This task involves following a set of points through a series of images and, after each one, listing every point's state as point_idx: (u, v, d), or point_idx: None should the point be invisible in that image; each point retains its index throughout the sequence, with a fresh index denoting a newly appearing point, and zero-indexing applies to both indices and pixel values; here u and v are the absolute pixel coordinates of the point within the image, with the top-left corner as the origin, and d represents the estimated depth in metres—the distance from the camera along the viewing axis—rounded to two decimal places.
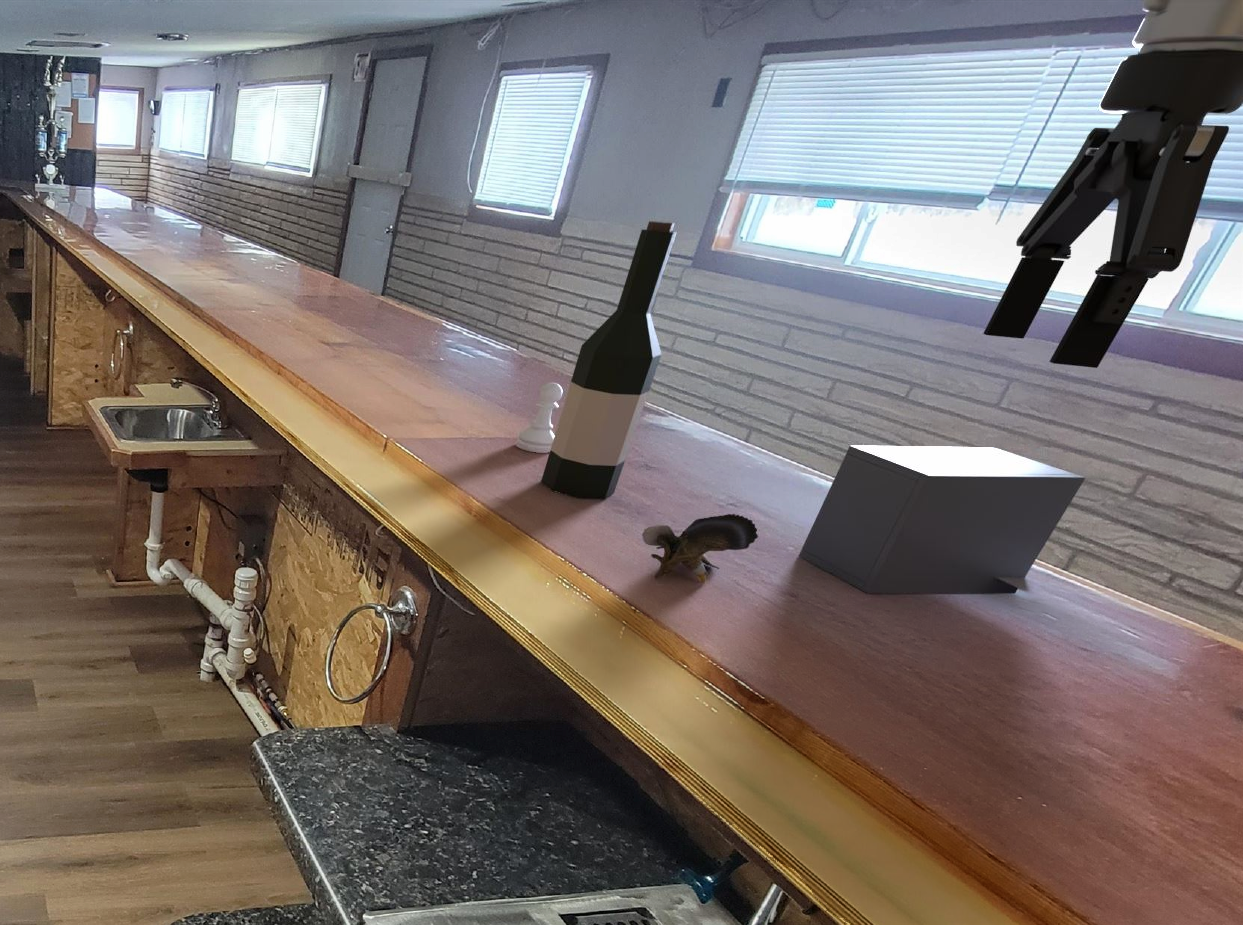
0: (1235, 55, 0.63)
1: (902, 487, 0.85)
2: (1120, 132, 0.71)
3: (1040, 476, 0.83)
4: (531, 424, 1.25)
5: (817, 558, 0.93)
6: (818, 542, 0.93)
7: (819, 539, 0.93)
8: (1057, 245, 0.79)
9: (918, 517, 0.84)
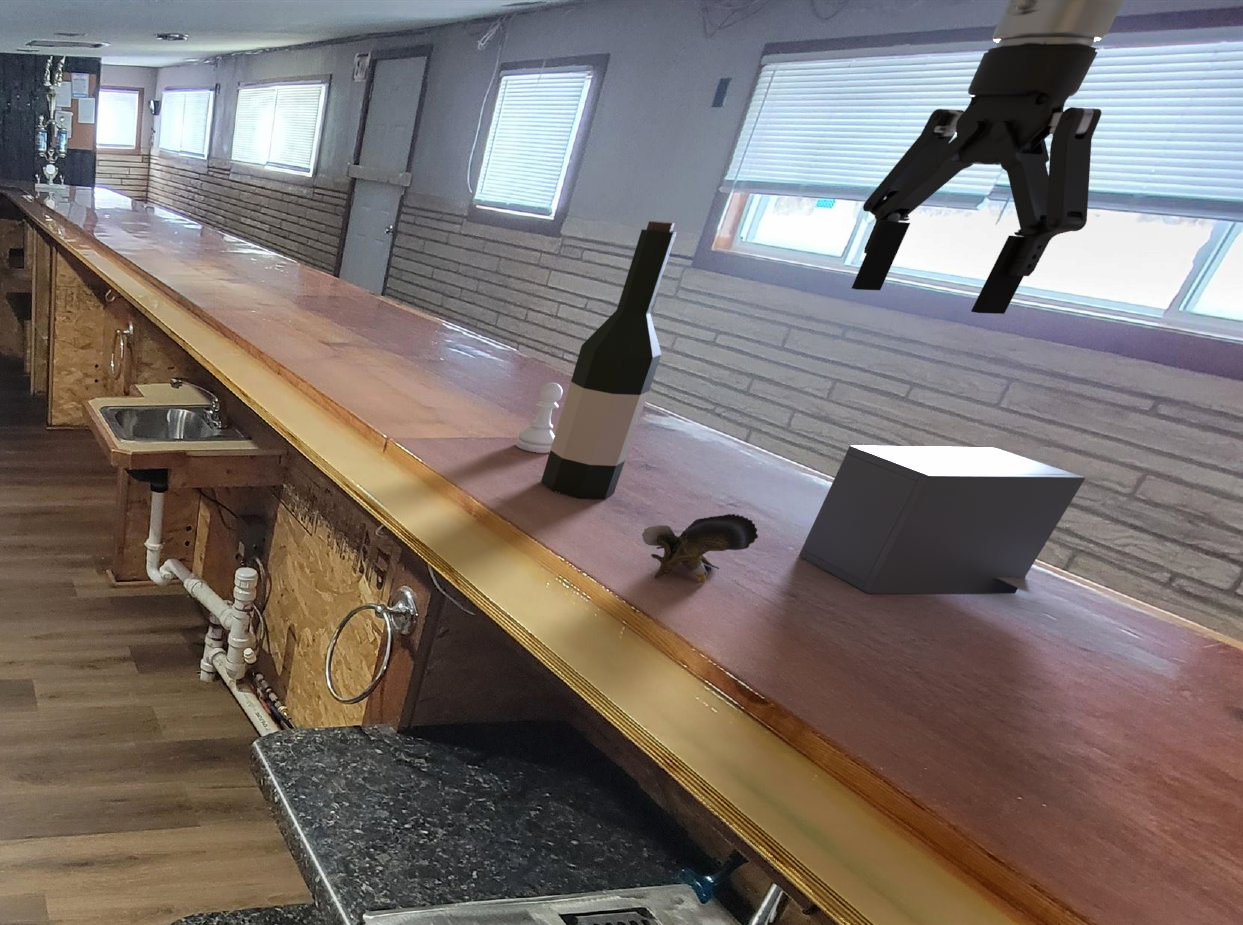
0: (1089, 49, 0.77)
1: (902, 487, 0.85)
2: (978, 113, 0.84)
3: (1040, 476, 0.83)
4: (531, 424, 1.25)
5: (817, 558, 0.93)
6: (818, 542, 0.93)
7: (819, 539, 0.93)
8: (902, 209, 0.93)
9: (918, 517, 0.84)
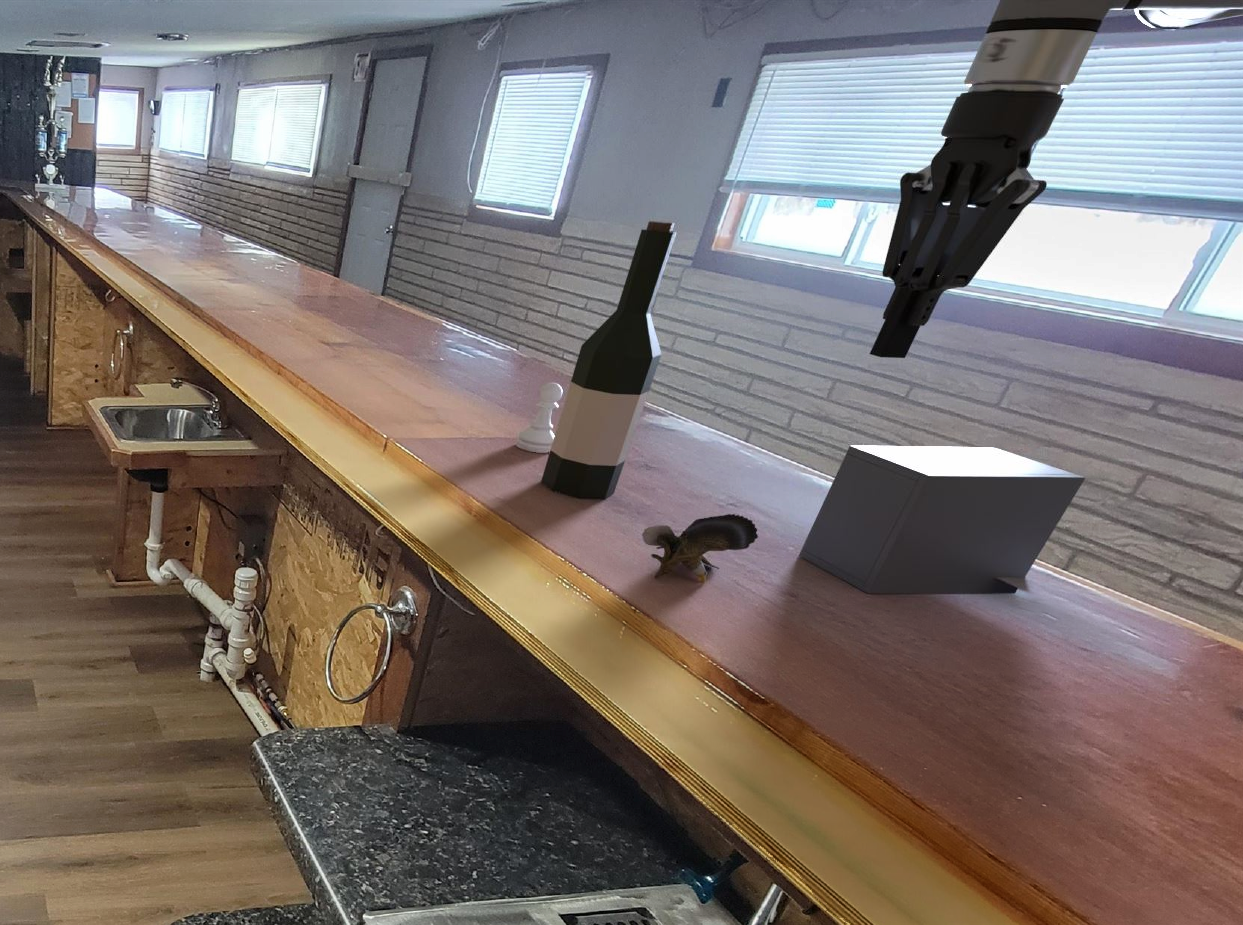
0: (1055, 96, 0.80)
1: (902, 487, 0.85)
2: (948, 148, 0.87)
3: (1040, 476, 0.83)
4: (531, 424, 1.25)
5: (817, 558, 0.93)
6: (818, 542, 0.93)
7: (819, 539, 0.93)
8: None
9: (918, 517, 0.84)
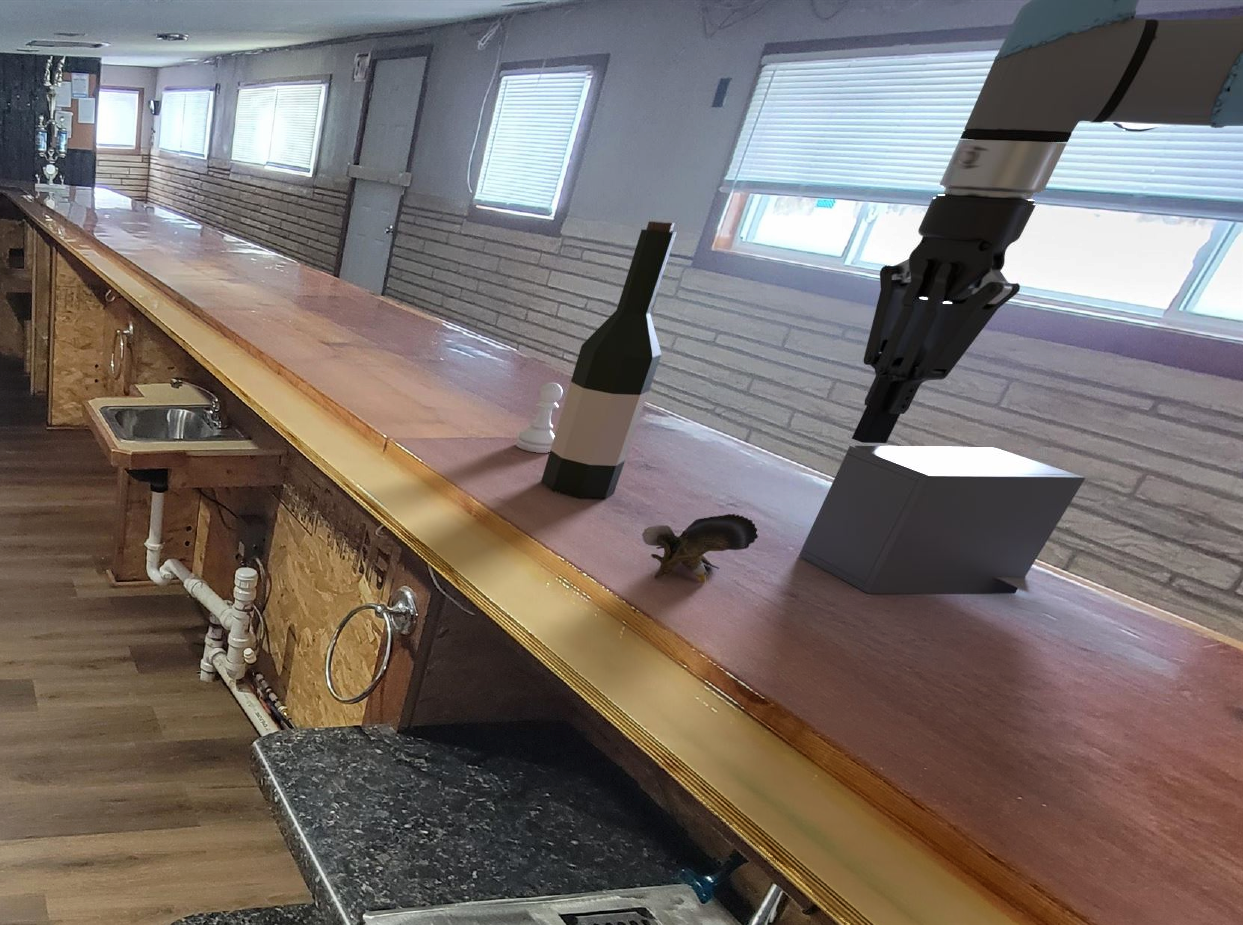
0: (1027, 203, 0.82)
1: (902, 487, 0.85)
2: (925, 244, 0.89)
3: (1040, 476, 0.83)
4: (531, 424, 1.25)
5: (817, 558, 0.93)
6: (818, 542, 0.93)
7: (819, 539, 0.93)
8: None
9: (918, 517, 0.84)
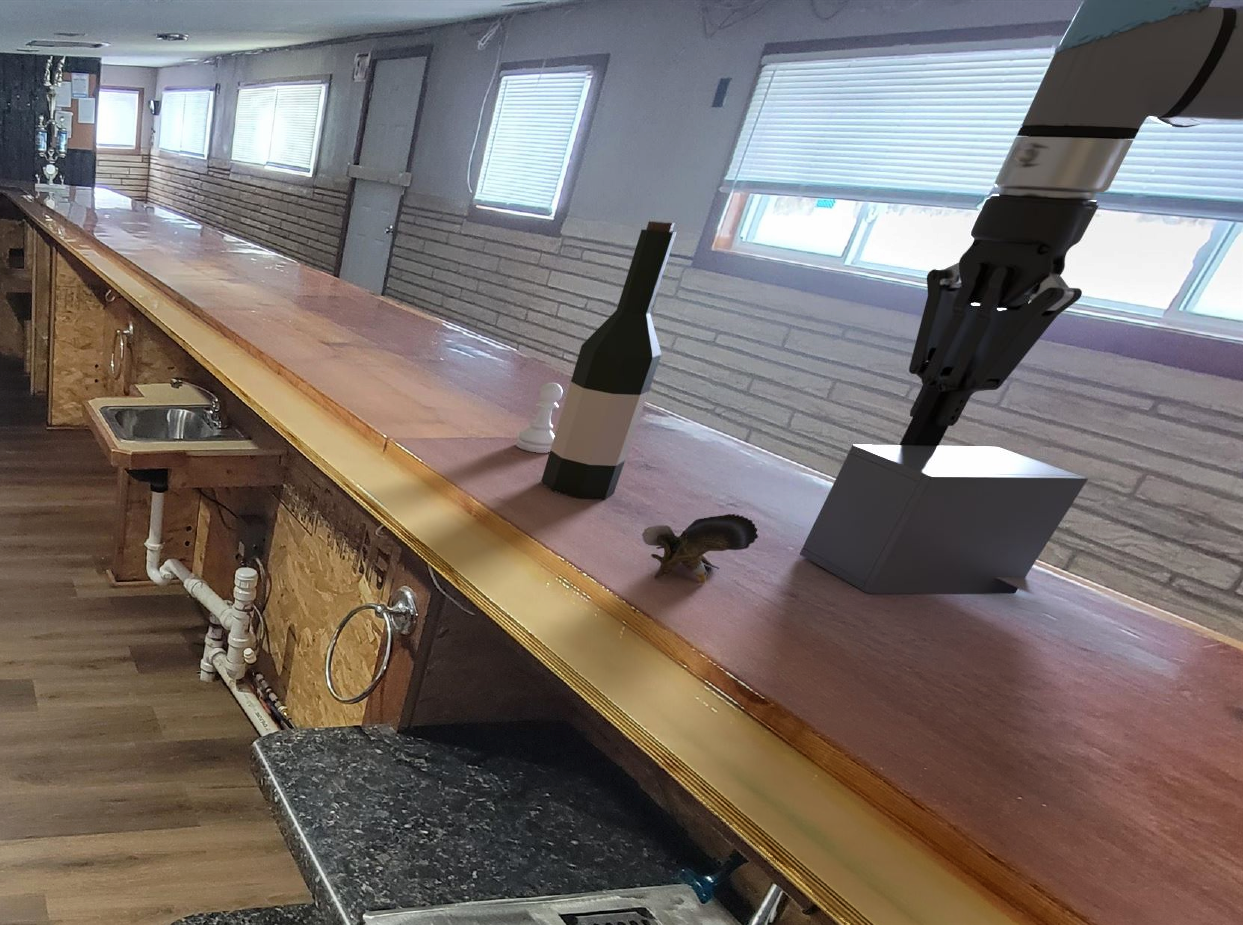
0: (1090, 203, 0.77)
1: (904, 487, 0.84)
2: (977, 248, 0.84)
3: (1042, 477, 0.83)
4: (531, 424, 1.25)
5: (818, 557, 0.93)
6: (819, 541, 0.93)
7: (820, 538, 0.93)
8: None
9: (920, 517, 0.84)
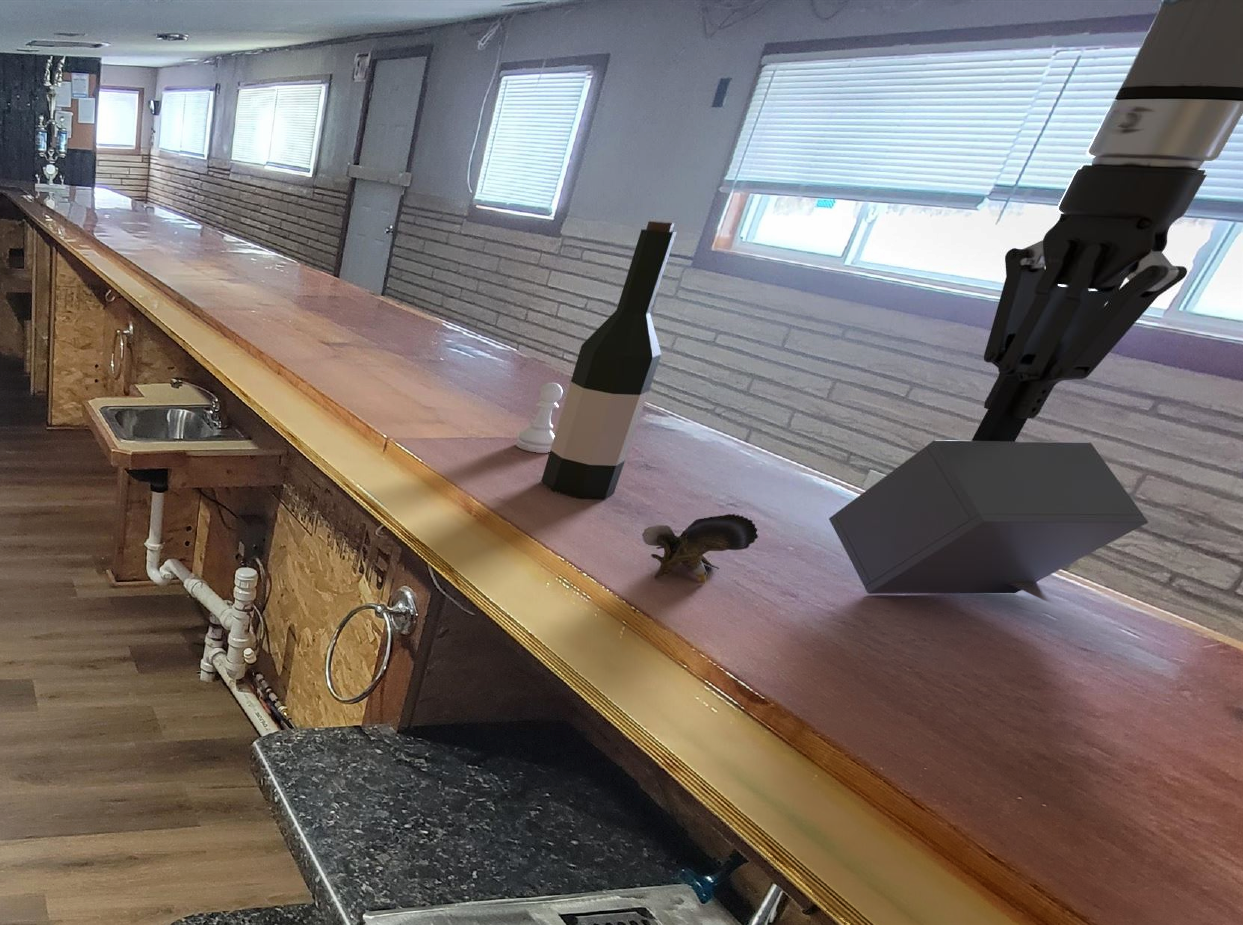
0: (1198, 173, 0.70)
1: (954, 516, 0.80)
2: (1065, 224, 0.77)
3: (1101, 520, 0.79)
4: (531, 424, 1.25)
5: (843, 532, 0.90)
6: (852, 518, 0.90)
7: (854, 515, 0.89)
8: (1030, 363, 0.82)
9: (953, 547, 0.81)
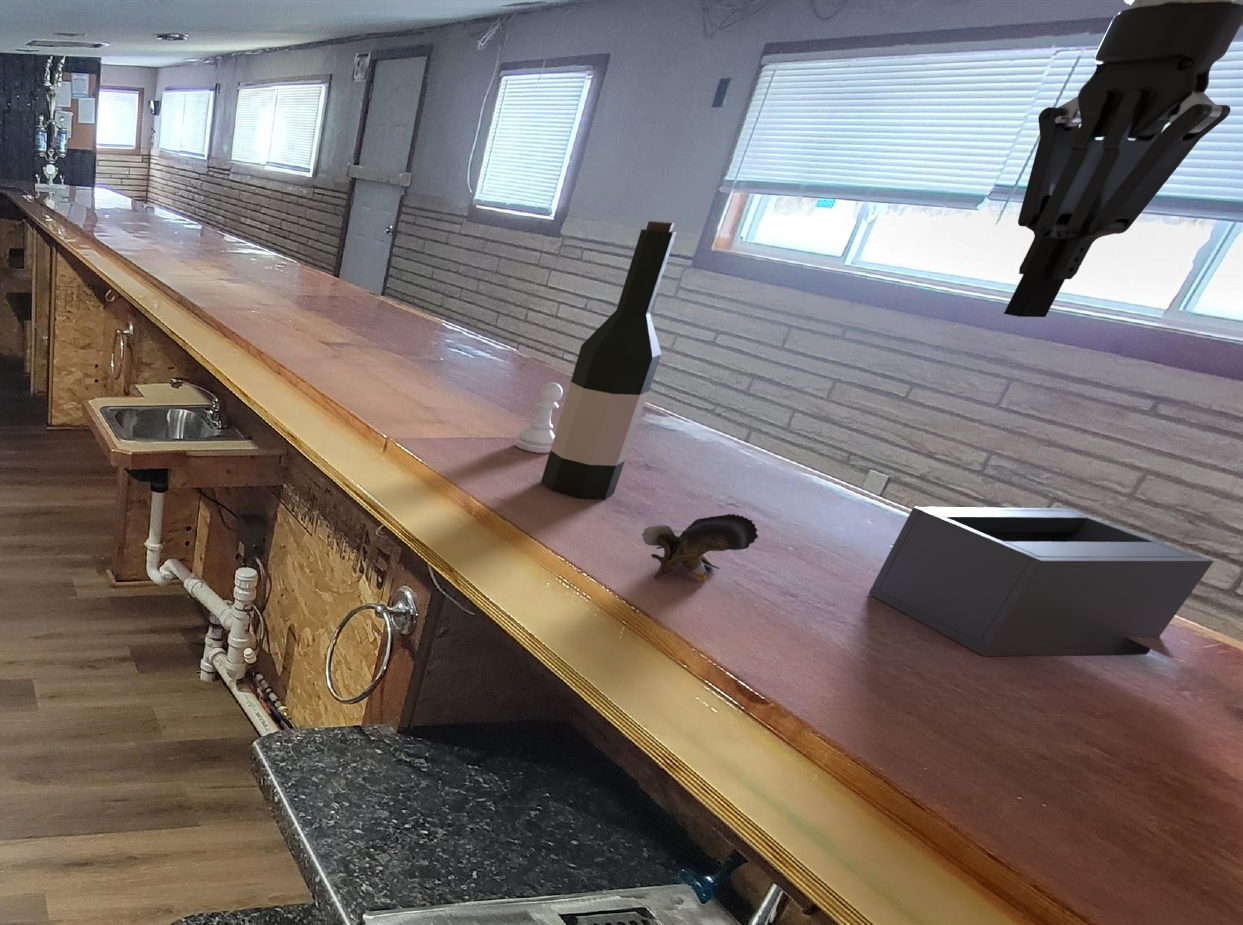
0: (1240, 8, 0.69)
1: (974, 627, 0.78)
2: (1101, 75, 0.77)
3: (1102, 653, 0.79)
4: (531, 424, 1.25)
5: (907, 532, 0.84)
6: (925, 531, 0.82)
7: (929, 532, 0.82)
8: (1066, 224, 0.81)
9: None
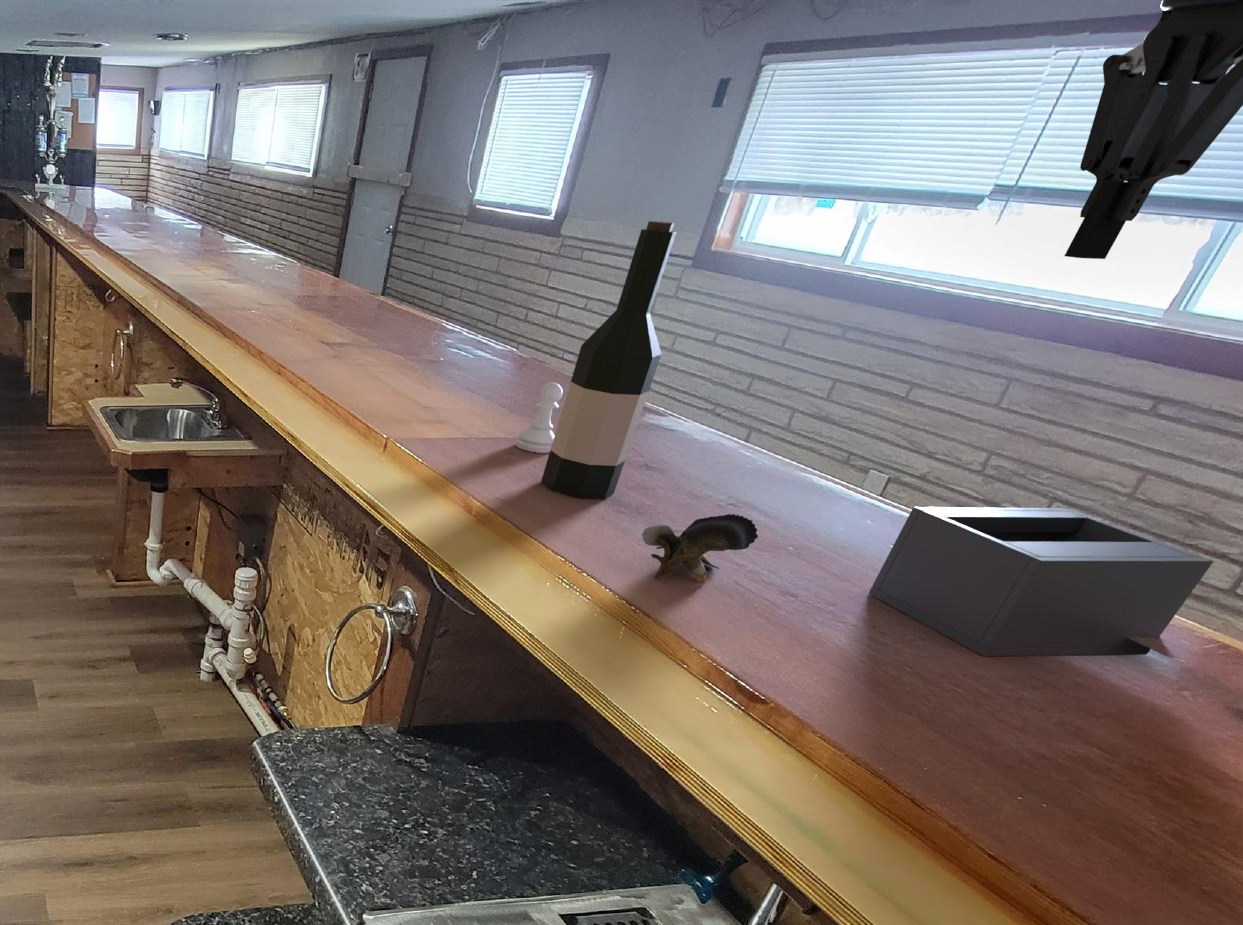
0: None
1: (974, 627, 0.78)
2: (1167, 22, 0.80)
3: (1102, 653, 0.79)
4: (531, 424, 1.25)
5: (907, 532, 0.84)
6: (925, 531, 0.82)
7: (929, 532, 0.82)
8: (1128, 168, 0.84)
9: None
